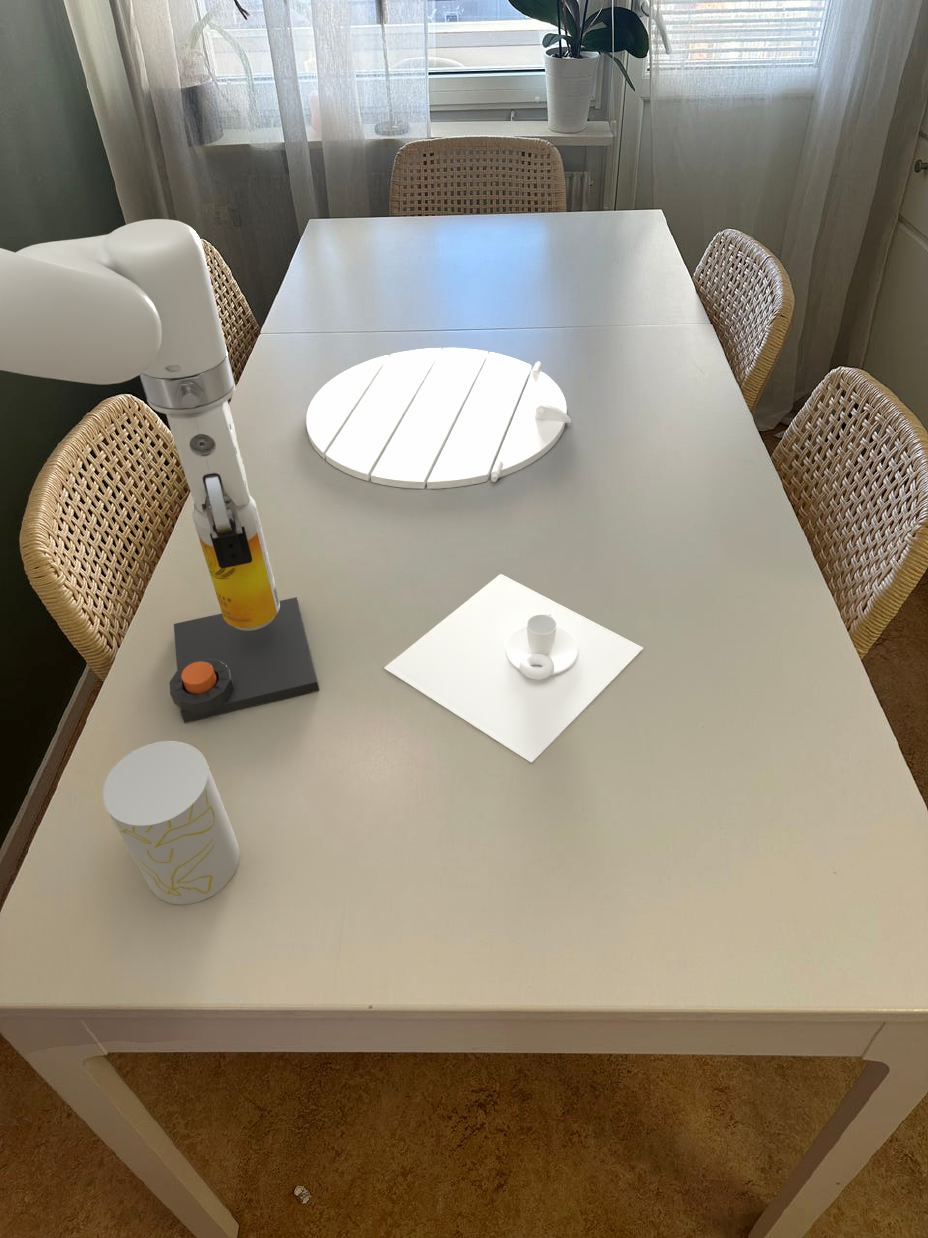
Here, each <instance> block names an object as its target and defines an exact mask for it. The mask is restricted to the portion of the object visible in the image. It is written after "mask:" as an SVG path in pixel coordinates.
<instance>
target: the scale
mask: <svg viewBox="0 0 928 1238" xmlns="http://www.w3.org/2000/svg"><path fill="white" fill-rule="evenodd" d="M279 602H280V608H279V611H278V613H277V615H276V616H275V618H274V619H273V620H272V621H271V622H270V623H269V624H268V625H266V626H265V627H263V628H260V629H257V630H251V631H245V630H240V629H237V628H235V627H233V626H231V625H229V624H228V623H227V622H226V621H225V620H224V618H223V615H222V612H221V613H217V614H213V615H208V616H204V617H198V618H194V619H189V620H185V621H181V622H176V623H174V624H173V632H174V646H175V647H174V648H175V658H176V659H175V660H176V671H175V673H174V675H173V676H172V678H171V679H170V680H169V694H170V696H171V699H172V702H173V703H174V705H176V706H177V708H179V710H180V716H181V718H182V721H183V723H184V724H186V723H190V722H194V721H198V720H202V719H207V718H211V717H215V716H219V715H224V714H227V713H233V712H237V711H240V710H243V709H248V708H253V707H257V706H261V705H266V704H270V703H273V702H278V701H282V700H285V699H291V698H294V697H298V696H303V695H307V694H311V693H315V692H319V691H320V687H319V682H318V678H317V674H316V670H315V665H314V662H313V657H312V653H311V648H310V645H309V641H308V636H307V632H306V628H305V624H304V620H303V616H302V612H301V608H300V607H301V606H300V603H299V599H298V596H295V597H289V598H287V599H286V598H285V599H281V600H279ZM195 662H207V663H209V664H210V665H212V667H213V669H214V672H215V675H216V684H215V686H214V687H213V688H212V689H211V690H209V691H208V692H205V693H202V694H192V693H190V692H188V691H187V690H186V688H185V686H184V683H183V680H182V677H181V675H182V672H183V670H184V669H185V668H186V667H187V666H188V665H190V664H192V663H195Z"/></svg>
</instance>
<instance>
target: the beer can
mask: <svg viewBox="0 0 928 1238" xmlns="http://www.w3.org/2000/svg"><path fill="white" fill-rule="evenodd" d="M224 500H225V501H228V500H230V497H229V496H228V495H226V496H224ZM208 502H209V504H210V499H208ZM236 507H237V511H238V515H239V520H240V524H241V527H244V528H245V532H246V536H247V540H248V543H249V547H250V551H251V555H252V562H250V563H247V564H242V565H237V566H232V567H228V568H220V567H219V564H218V561H217V557H216V554H215V550H214V547H213V544H212V540H211V537H210V533H211V529H210V526H209V522H208V518H207V514H206V511H205V513H202V512H200V511H198V510H197V508H196V505H195V503H194V502H193V509H192V515H191V516H192V520H193V523H194V526H195V529H196V530H195V531H196V533H197V536H198V539H199V540H198V541H199V542H200V546H201V549H202V552H203V555H204V556H203V557H204V559H205V563H206V565H207V569H208V572H209V576H210V578H211V581H212V586H213V589H214V592H215V595H216V599H217V601H218V605H219V608H220V612H221V613H222V615H223V618H224V620H225V621H226V622H227V623H228V624H229V625H231V626H233V627H235V628H237V629H240V630H245V631H251V630H257V629H260V628H263V627H265V626H266V625H268V624H269V623H270V622H271V621H272V620H273V619H274V618H275V616H276V615H277V613H278V611H279V608H280V602H279V601H280V598H279V595H278V594H279V593H278V590H277V586H276V582H275V578H274V573H273V569H272V566H271V562H270V557H269V553H268V548H267V544H266V539H265V536H264V532H263V528H262V524H261V520H260V516H259V511H258V506H257V503H256V501H255V499H254V498H253V497H252V496H251V495H250V501H249V503H248V504H247V505H245V506H244V505H241V506H237V505H236ZM227 513H228V517H229V519H231V518H232V520H233V516H232V512H231V509H227ZM233 521H234V520H233Z"/></svg>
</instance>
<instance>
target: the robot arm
mask: <svg viewBox="0 0 928 1238" xmlns="http://www.w3.org/2000/svg"><path fill="white" fill-rule="evenodd" d="M208 267H209V266H208V262H207V258H206V254H205V251H204V247H203V243H202V241H201V239H200V236H199V235H198V234H197V232H196V230H194V229H193V227H191V226H190V225H188V224H187V223H185V222H182V221H180V220H175V219H168V218H167V219H166V218H165V219H164V218H153V219H143V220H138V221H134V222H131V223H128V224H125V225H123V226H120V227H118V228H116V229H114V230H112V231H111V232H109V233H108V234H102V235H101V234H100V235H95V236H90V237H82V238H74V239H73V238H72V239H63V240H56V241H48V242H41V243H37V244H31V245H29V246H26V247H23V248H21V249H19V250H18V251H15V252H14V251H11V250H8V249H6V248H5V249H4V248H1V247H0V371H4V372H9V373H13V374H14V373H15V374H19V375H25V376H31V377H36V378H37V377H38V378H44V379H51V380H52V379H53V380H60V381H67V382H74V383H75V382H76V383H82V384H89V385H113V384H121V383H124V382H128V381H131V380H132V379H134V378H137V377H139V378H140V381H141V385H142V388H143V391H144V394H145V398H146V401H147V404H148V405H149V407H150V408H151V409H153V410H154V411H156V412H158V413H161V414H164V415H166V418H167V423H168V426H169V428H170V429H169V430H170V433H171V436H172V439H173V442H174V446H175V448H176V452H177V455H178V458H179V462H180V464H181V467H182V471H183V474H184V477H185V481H186V483H187V486H188V488H189V492H190V494H191V497H192V500H193V504H194V503H195V505H196V508H197V510H198V511H200V512H202V513H205V511H206V514H207V518H208V522H209V526H210V529H211V533H210V537H211V540H212V544H213V547H214V550H215V554H216V557H217V561H218V564H219V567H220V568H228V567H232V566H237V565H242V564H247V563H250V562H252V555H251V551H250V547H249V543H248V540H247V536H246V532H245V528H244V527H241V524H240V520H239V515H238V511H237V507H236V505H237V506H241V505H244V506H245V505H247V504H248V503H249V501H250V496H251V493H250V488H249V484H248V479H247V474H246V470H245V469H246V468H245V464H244V461H243V457H242V451H241V447H240V444H239V440H238V436H237V432H236V431H237V430H236V428H235V424H234V419H233V416H232V412H231V408H230V405H229V400H230V399H231V398H232V397H233V395H234V393H235V392H236V382H235V379H234V374H233V371H232V366H231V362H230V357H229V353H228V349H227V345H226V340H225V336H224V331H223V327H222V323H221V319H220V314H219V311H218V310H219V309H218V306H217V300H216V297H215V293H214V288H213V284H212V280H211V275H210V272H209V268H208ZM226 495H228V496H229V497H230V500H228V501H225V500H224V496H226ZM208 499H210V504H209V502H208ZM227 509H231V512H232V516H233V520H234V521H233V520H232V518H231V519H229V517H228V513H227Z"/></svg>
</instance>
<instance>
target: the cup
mask: <svg viewBox="0 0 928 1238" xmlns="http://www.w3.org/2000/svg"><path fill="white" fill-rule="evenodd" d="M102 801H103V805H104V807H105V809H106V811H107V812H108V815H109V816H110V818H111V820H112V821H113V824H114V825H115V828H116V829H117V831H118V833H119V835H120V836H121V838H122V840H123V842H124V844H125V846H126V848H127V849H128V851H129V853H130V855H131V856H132V859H133V860H134V863H136V865H137V867H138V869H139V871H140V873H141V875H142V876H143V879H144V880H145V882H146V883H147V885H148V887H149V889H150V891H151V892H152V893H153V895H155V896H156V897H157V898H158V899H159V900H161V901H163V902H165V903H168V904H172V905H180V906H181V905H183V906H184V905H185V906H186V905H193V904H197V903H200V902H203V901H206V900H208V899H209V898H211V897H213V896H215V895H216V894H218V893H219V892H220V891H221V890H223V889H224V888H225V887H226V886H227V885H228V883H230V882H231V880H232V878H233V877H234V875H235V874H236V871H237V869H238V866H239V863H240V858H241V857H240V856H241V851H240V845H239V842H238V840H237V837H236V834H235V832H234V829H233V827H232V824H231V822H230V818H229V816H228V813H227V811H226V809H225V805H224V803H223V800H222V798H221V796H220V793H219V791H218V788H217V785H216V783H215V780H214V777H213V775H212V773H211V770H210V768H209V765H208V761H207V759H206V757H205V756H204V754H203V753H202V751H200V750H199V749H198V748H197V747H195V746H194V745H191V744H189V743H187V742H183V741H178V740H161V741H156V742H151V743H149V744H146V745H142V746H141V747H138V748H137V749H135V750H133V751H131V752H129V753H128V754H126V756H124V757H122V758H121V759H120V760H119V761H118V762H117V763H116V765H114V767H113V768H112V769H111V770H110V772H109V774H108V775H107V777H106V780H105V782H104V785H103V789H102Z"/></svg>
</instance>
